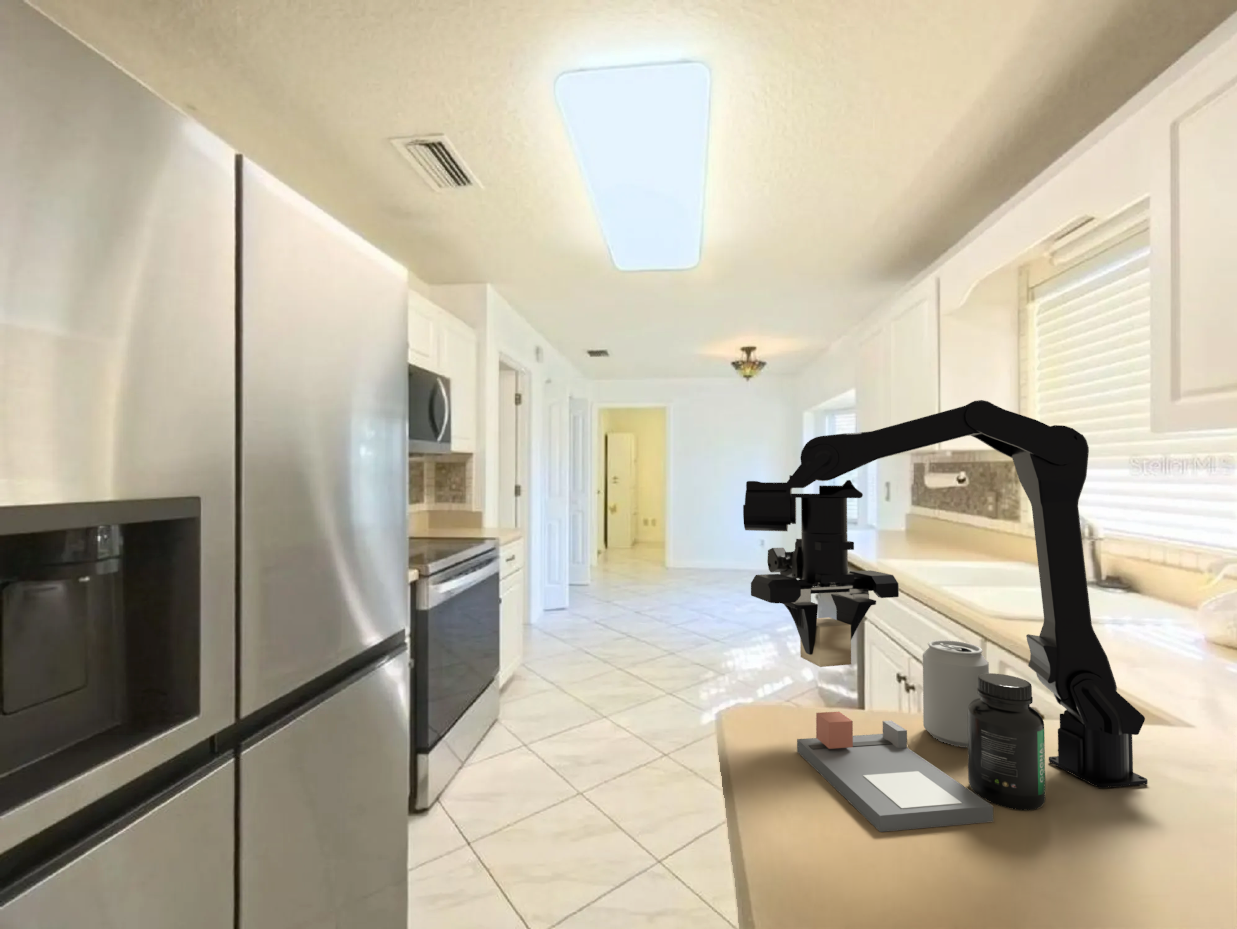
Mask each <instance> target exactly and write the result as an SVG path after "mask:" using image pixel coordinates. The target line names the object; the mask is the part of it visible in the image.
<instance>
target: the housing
mask: <svg viewBox="0 0 1237 929" xmlns="http://www.w3.org/2000/svg"><path fill="white" fill-rule="evenodd" d="M799 639H800V646H799V647H800V652H799V653H800V654H799V655H800V658H802V659H803V660H805V661H808V662H809V663H812V664H813V665H815V666H817V667H819V668H826V667H836V666H848V665H849V666H850V665H852V639H851V625H849V624H847V623H844V622H841V621H838V620H837V619H835V618H833V617H817V623H816V635H815V645H814V650H813V654H812V655H809V654H807V653H806V652H805V650H804V647H803V644H802V641H801V638H800V637H799Z"/></svg>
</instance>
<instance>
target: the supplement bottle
mask: <svg viewBox="0 0 1237 929" xmlns="http://www.w3.org/2000/svg"><path fill="white" fill-rule="evenodd" d="M1032 688H1033V687H1032V684H1031V682H1029V681H1028V680H1026V679H1023V678H1020V677H1019V676H1018V677H1017V676H1013V675H1010V674H1009V675H1008V674H1003V673H990V672H989V673H985V674H980V675H979V676H978V688H977V693H978V695H979V696H980V698H977V699H975V700H973V701H972V702H971V703H970V704H969V706H968V713H967V716H968V747H967V772H968V773H967V774H968V777H967V778H968V785H969V787H970V788H971V791H972V792H973V793H975V794H976V795H978V796H979V797H981V798H982V799H984V800H985V801H986V802H988V803H990V804H991V803H992V804H993V805H997V806H999V807H1003V808H1008V809H1010V810H1016V811H1034V810H1035V811H1036V810H1038V809H1040V808H1042V807H1043V806H1044V805H1045V802H1046V755H1045V754H1046V753H1045V752H1046V751H1045V750H1046V749H1045V747H1046V746H1045V722H1044V721H1045V720H1044V719H1043V717H1042V715H1041V714H1040V713H1039V712H1038V710H1036V709H1035V708H1033V707H1032V706H1030V705H1031V704H1033V694H1032V693H1033V689H1032Z"/></svg>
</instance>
